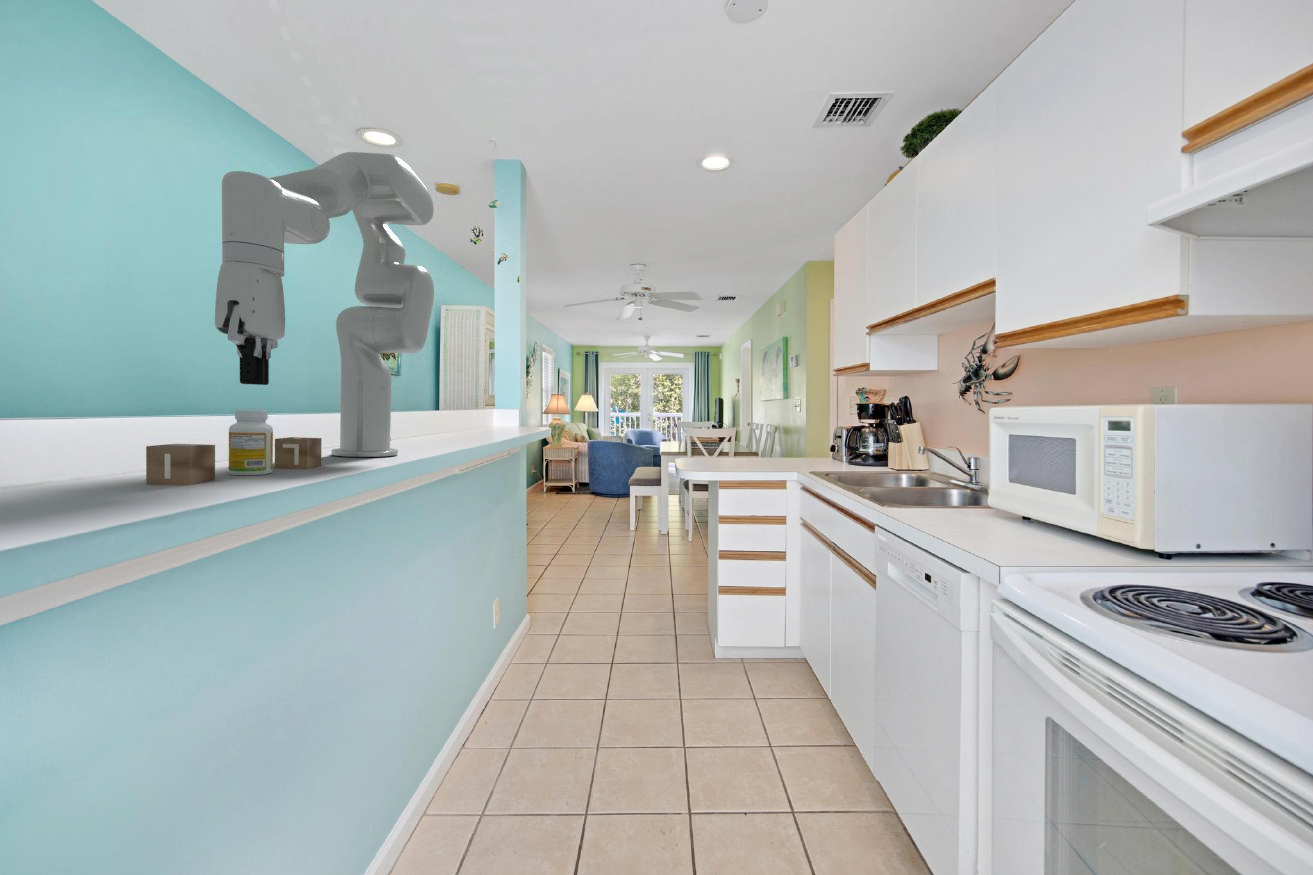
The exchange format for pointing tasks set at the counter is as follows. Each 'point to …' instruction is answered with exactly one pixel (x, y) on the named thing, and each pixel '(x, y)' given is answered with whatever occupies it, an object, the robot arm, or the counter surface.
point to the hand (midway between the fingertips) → (254, 384)
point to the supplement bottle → (250, 444)
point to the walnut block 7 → (297, 453)
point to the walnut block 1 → (180, 464)
